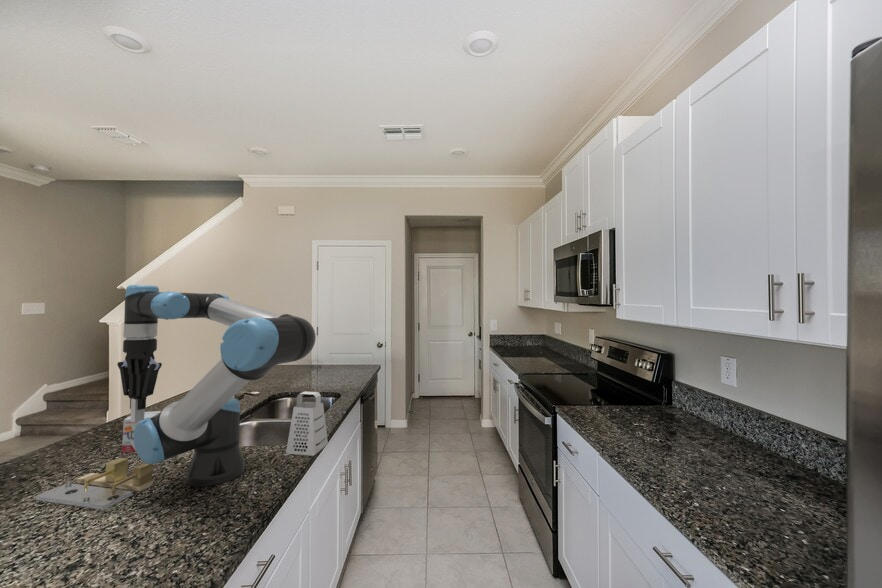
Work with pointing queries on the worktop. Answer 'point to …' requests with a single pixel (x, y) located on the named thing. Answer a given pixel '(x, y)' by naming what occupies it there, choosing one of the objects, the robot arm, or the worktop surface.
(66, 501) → the bolt plate
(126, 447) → the ink box
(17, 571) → the worktop surface
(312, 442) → the grater
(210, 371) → the robot arm
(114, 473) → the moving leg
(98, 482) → the rail
